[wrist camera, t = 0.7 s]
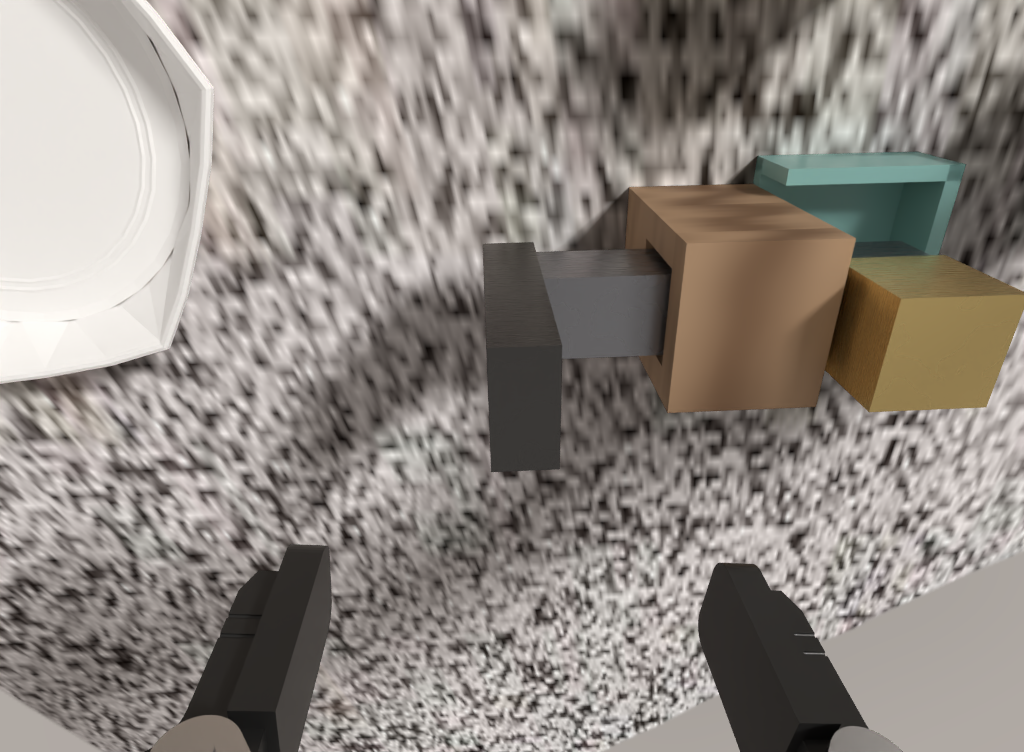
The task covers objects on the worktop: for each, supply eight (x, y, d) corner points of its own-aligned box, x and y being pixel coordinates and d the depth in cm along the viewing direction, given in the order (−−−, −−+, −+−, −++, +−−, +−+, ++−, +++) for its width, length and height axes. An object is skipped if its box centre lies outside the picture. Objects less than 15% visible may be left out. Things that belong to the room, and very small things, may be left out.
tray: (917, 151, 36) (966, 164, 32) (868, 333, 41) (906, 361, 37) (757, 155, 35) (788, 169, 32) (728, 338, 40) (753, 367, 37)
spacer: (944, 255, 29) (1029, 294, 24) (913, 354, 31) (986, 407, 27) (835, 258, 29) (901, 298, 24) (813, 358, 31) (869, 412, 27)
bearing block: (753, 183, 36) (856, 238, 26) (732, 316, 40) (816, 406, 30) (629, 187, 36) (686, 243, 26) (620, 320, 39) (667, 412, 30)
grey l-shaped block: (903, 230, 32) (1110, 325, 22) (878, 322, 35) (1055, 447, 24) (482, 243, 32) (486, 348, 21) (486, 336, 34) (491, 471, 23)
